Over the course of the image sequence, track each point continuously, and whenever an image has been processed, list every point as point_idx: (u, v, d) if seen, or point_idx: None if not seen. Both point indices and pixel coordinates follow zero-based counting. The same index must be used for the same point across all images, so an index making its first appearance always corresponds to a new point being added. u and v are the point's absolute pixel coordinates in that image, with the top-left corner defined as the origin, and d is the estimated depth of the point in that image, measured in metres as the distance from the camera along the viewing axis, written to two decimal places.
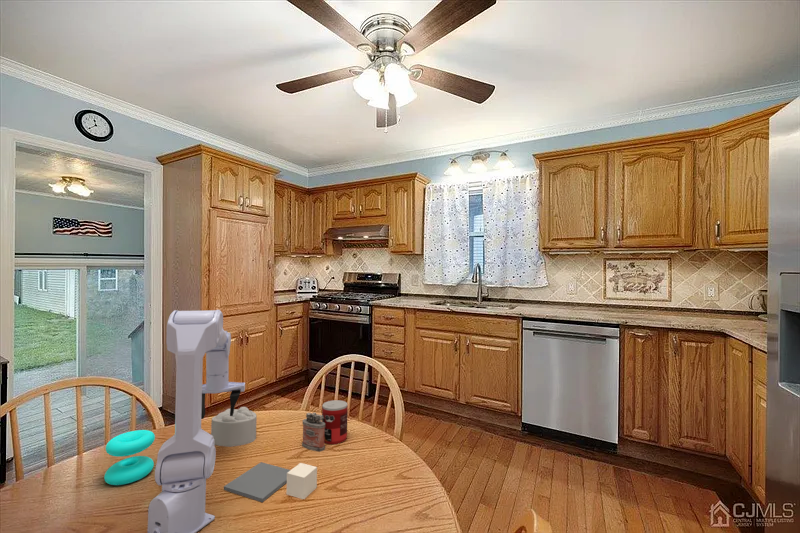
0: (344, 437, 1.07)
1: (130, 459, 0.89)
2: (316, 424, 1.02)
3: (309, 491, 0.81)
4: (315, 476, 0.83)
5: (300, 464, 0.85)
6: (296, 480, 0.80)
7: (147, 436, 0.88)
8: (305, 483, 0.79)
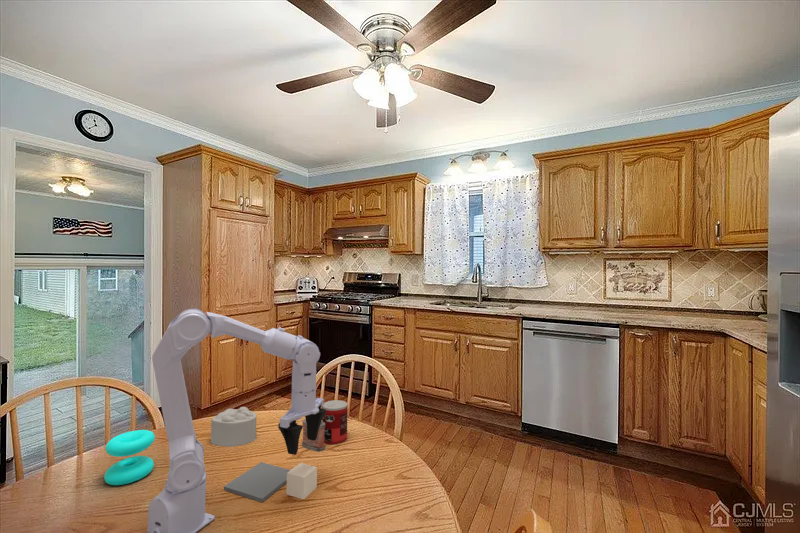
0: (344, 437, 1.07)
1: (130, 459, 0.89)
2: None
3: (309, 491, 0.81)
4: (315, 476, 0.83)
5: (300, 464, 0.85)
6: (296, 480, 0.80)
7: (147, 436, 0.88)
8: (305, 483, 0.79)
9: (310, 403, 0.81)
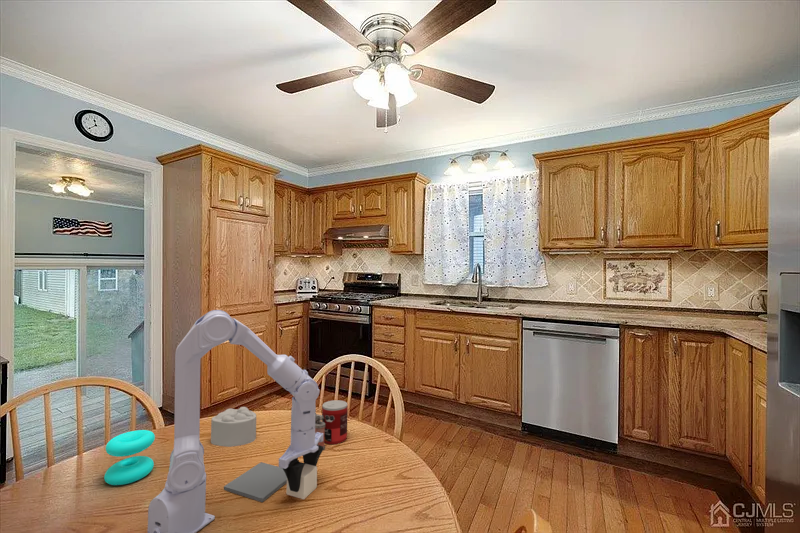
0: (344, 437, 1.07)
1: (130, 459, 0.89)
2: (316, 424, 1.02)
3: (309, 491, 0.81)
4: (315, 476, 0.83)
5: None
6: None
7: (147, 436, 0.88)
8: (305, 482, 0.79)
9: (310, 441, 0.81)
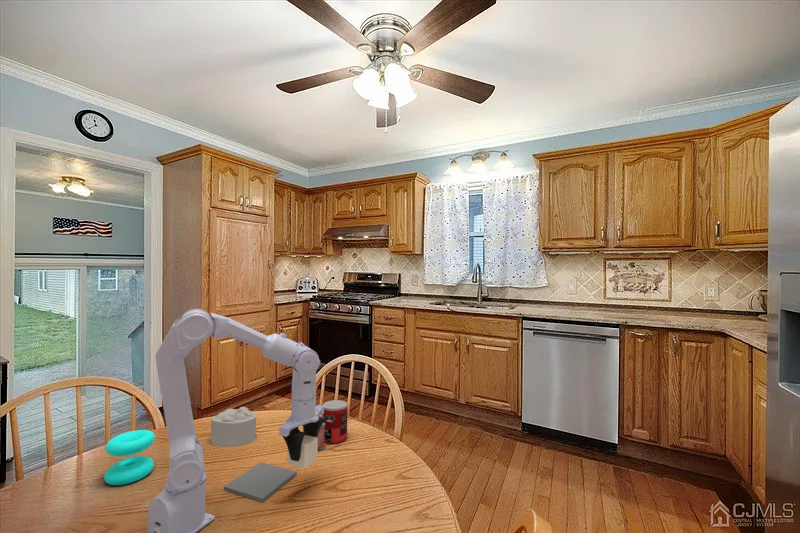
0: (344, 437, 1.07)
1: (130, 459, 0.89)
2: None
3: (310, 460, 0.81)
4: (316, 447, 0.84)
5: None
6: None
7: (147, 436, 0.88)
8: (305, 452, 0.80)
9: (310, 412, 0.81)
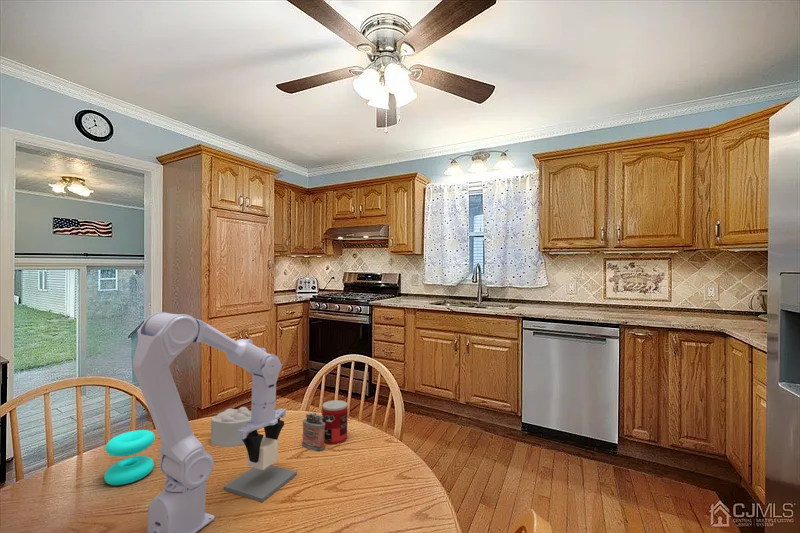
0: (344, 437, 1.07)
1: (130, 459, 0.89)
2: (316, 424, 1.02)
3: (269, 462, 0.84)
4: (276, 449, 0.87)
5: (262, 438, 0.88)
6: None
7: (147, 436, 0.88)
8: (264, 454, 0.83)
9: (269, 415, 0.84)
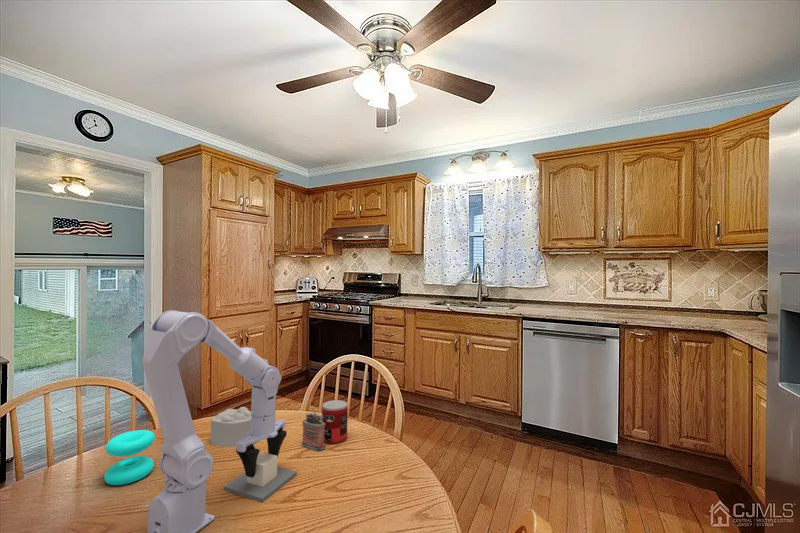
0: (344, 437, 1.07)
1: (130, 459, 0.89)
2: (316, 424, 1.02)
3: (268, 478, 0.84)
4: (276, 465, 0.87)
5: (261, 453, 0.88)
6: None
7: (147, 436, 0.88)
8: (264, 470, 0.83)
9: (269, 427, 0.84)
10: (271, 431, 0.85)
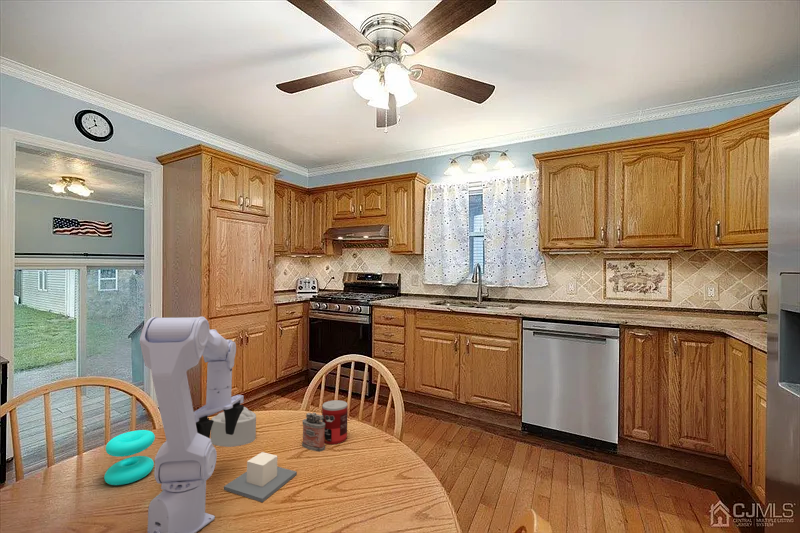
0: (344, 437, 1.07)
1: (130, 459, 0.89)
2: (316, 424, 1.02)
3: (268, 478, 0.84)
4: (276, 465, 0.87)
5: (261, 453, 0.88)
6: (255, 468, 0.83)
7: (147, 436, 0.88)
8: (264, 470, 0.83)
9: (224, 400, 0.86)
10: (226, 404, 0.87)
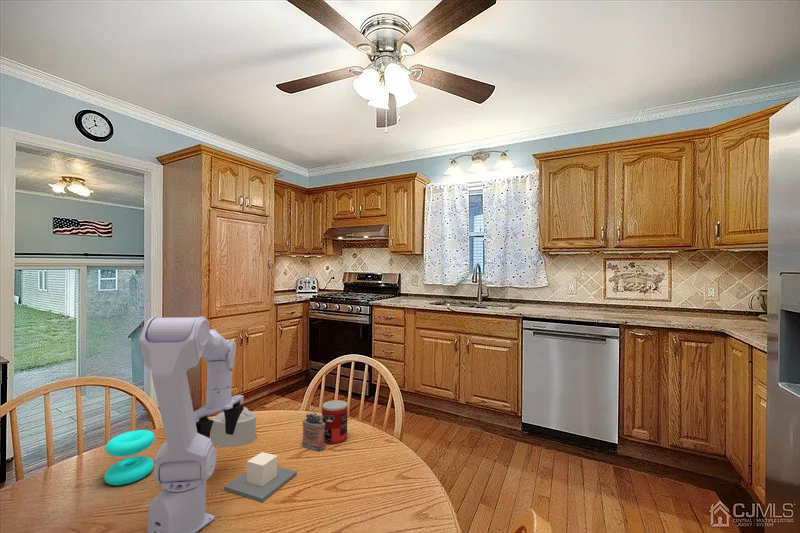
0: (344, 437, 1.07)
1: (130, 459, 0.89)
2: (316, 424, 1.02)
3: (268, 478, 0.84)
4: (276, 465, 0.87)
5: (261, 453, 0.88)
6: (255, 468, 0.83)
7: (147, 436, 0.88)
8: (264, 470, 0.83)
9: (224, 400, 0.86)
10: (226, 404, 0.87)
